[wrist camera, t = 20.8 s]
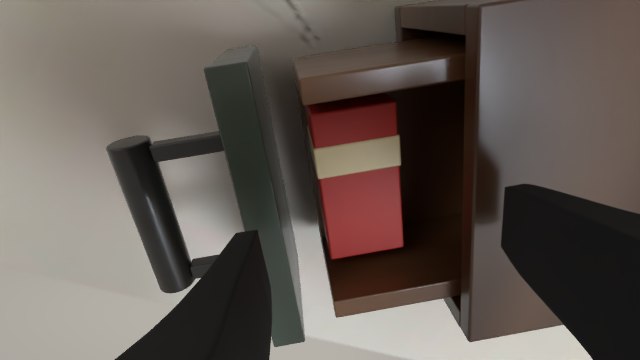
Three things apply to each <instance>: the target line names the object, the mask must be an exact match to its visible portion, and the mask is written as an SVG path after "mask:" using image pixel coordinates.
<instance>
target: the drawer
mask: <svg viewBox="0 0 640 360" xmlns="http://www.w3.org/2000/svg"><path fill="white" fill-rule="evenodd" d="M465 52H466V35H458V34H446V35H440V36H433V37H427V38H421V39H414V40H408V41H401V42H395V43H388V44H382V45H375V46H369V47H363V48H356V49H350V50H343V51H337V52H330V53H324V54H317V55H311V56H304V57H298V58H293V59H292V62H293V69H294V75H295V81H296V87H297V94H298V100H299V106H300V112H301V119H302V125H303V131H304V137H305V144H306V150H307V156H308V162H309V168H310V175H311V181H312V187H313V193H314V200H315V206H316V212H317V218H318V225H319V231H320V237H321V243H322V248H323V253H324V259H325V264H326V269H327V274H328V279H329V285H330V290H331V295H332V300H333V305H334V310H335V316H336V317H343V316H348V315H354V314H359V313H365V312H370V311H376V310H381V309H387V308H392V307H398V306H403V305H409V304H414V303H420V302H425V301H431V300H436V299H442V298H447V297H453V296H458V295H461V269H462V215H463V161H464V106H465ZM204 73H205V77H206V81H207V84H208V88H209V92H210V96H211V100H212V104H213V108H214V112H215V116H216V120H217V124H218V128H219V131H218V132H211V133H205V134H199V135H193V136H187V137H180V138H174V139H168V140H162V141H156V142H153V143H151V140H150V138H149V137H148V136H133V137H128V138H124V139H121V140H118V141H116V142H113V143H111V144H110V145H108V146H107V148H106V150H107V152H108V155H109V157H110V160H111V163H112V165H113V168H114V170H115V173H116V176H117V178H118V181H119V183H120V186H121V188H122V191H123V194H124V196H125V199H126V201H127V204H128V206H129V209H130V212H131V214H132V217H133V219H134V222H135V225H136V227H137V230H138V232H139V235H140V237H141V240H142V243H143V245H144V248H145V250H146V253H147V255H148V258H149V261H150V263H151V266H152V268H153V271H154V274H155V276H156V279H157V281H158V284H159V286H160V289H161V290H162V291H163V292H165V293H176V292H179V291H182V290H184V289H186V288H187V287H189V286H190V285H191V284H192V283H193V282H194V280H195V279H196V278H202V277H203V275H204V274H205V273H206V272H207V270H208V269H209V268H210V267H211V265H212V264H213V263H214V261H215V260H216V259H217V257H218V256H219V255H220V254H219V255H214V256H208V257H202V258H196V259H193V260H192V262H191V259H190V256H189V253H188V250H187V247H186V244H185V241H184V238H183V235H182V232H181V229H180V226H179V223H178V220H177V217H176V214H175V211H174V208H173V205H172V202H171V199H170V196H169V193H168V191H167V188H166V185H165V182H164V179H163V176H162V173H161V170H160V167H159V164H158V162H160V161H166V160H172V159H179V158H185V157H191V156H197V155H203V154H209V153H215V152H221V151H225V155H226V159H227V163H228V167H229V171H230V175H231V179H232V183H233V187H234V191H235V195H236V199H237V203H238V206H239V210H240V214H241V218H242V222H243V226H244V230H245V232H246V231H251V230H258V234H259V239H260V243H261V247H262V251H263V256H264V260H265V264H266V268H267V272H268V277H269V281H270V285H271V297H272V331H271V336H272V340H273V344H274V347H278V346H283V345H289V344H294V343H300V342H304V341H305V334H304V323H303V311H302V299H301V288H300V276H299V264H298V254H297V249H296V243H295V238H294V233H293V228H292V223H291V217H290V212H289V207H288V202H287V197H286V192H285V186H284V181H283V176H282V171H281V166H280V161H279V155H278V150H277V145H276V140H275V135H274V130H273V124H272V119H271V114H270V109H269V104H268V99H267V93H266V88H265V83H264V78H263V73H262V68H261V62H260V57H259V52H258V47H257V45H252V46H245V47H239V48H232V49H228V50H227V51H226V52H224V53H223V54H222V55H221V56H219V57H218V58H217V59H216V60H214V61H213V62H212V63H210V64H209V65H208V66H207V67H205V68H204ZM380 93H386V94H387V95H388V96H390V97H391V98H392V99H393V100H395V101H396V105H397V124H398V134H399V136H400V147H401V165H400V183H401V202H402V222H403V241H404V245H403V247H400V248H395V249H389V250H383V251H377V252H372V253H366V254H360V255H355V256H349V257H343V258H338V259H331V257H330V253H329V249H328V244H327V240H326V235H325V230H324V226H323V221H322V214H321V208H320V202H319V195H318V189H317V182H316V176H315V169H314V163H313V159H312V155H311V151H310V145H309V138H308V132H307V125H308V124H307V117H306V111H305V105H311V104H317V103H323V102H330V101H336V100H342V99H348V98H355V97H361V96H367V95H373V94H380Z"/></svg>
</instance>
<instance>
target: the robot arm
mask: <svg viewBox="0 0 640 360" xmlns="http://www.w3.org/2000/svg"><path fill="white" fill-rule="evenodd" d="M501 247H502V249H503V251H504V252H505V254H506V255H507V257H508V259H509V260H510V262H511V263H512V265H513V266H514V268H515V269H516V270H517V272H518V273H519V275H520V276H521V277H522V278H523V279H524V280H525V282H526V283H527V284H528V285H529V286H530V287H531V288H532V290H533V291H534V292H535V293H536V294H537V295H538V296H539V298H540V299H541V300H542V301H543V302H544V303H545V304H546V305H547V306H548V308H549V309H550V310H551V311H552V312H553V313H554V314H555V315H556V316H557V318H558V319H559V320H560V321H561V322H562V323H563V324H564V325H565V326H566V328H567V329H568V330H569V331H570V332H571V333H572V334H573V335H574V337H575V338H576V339H577V340H578V341H579V343H580V344H581V345H582V346H583V347H584V349H585V350H586V351H587V352H588V354H589V355H590V356H591V358H592V359H593V360H640V214H638V213H634V212H630V211H626V210H623V209H619V208H615V207H612V206H608V205H604V204H601V203H597V202H594V201H590V200H587V199H584V198H580V197H577V196H573V195H570V194H566V193H563V192H560V191H556V190H552V189H549V188H545V187H541V186H536V185H531V184H519V185H514V186H508V187H505V191H504V206H503V220H502V235H501ZM271 331H272V297H271V285H270V281H269V277H268V272H267V268H266V264H265V260H264V256H263V251H262V247H261V243H260V239H259V234H258V230H251V231H246V232H240V233H236V234H235V235H234V236H233V238H232V239H231V240H230V241H229V243H228V244H227V245H226V247H225V248H224V249H223V251H222V252H221V253H220V255H219V256H218V257H217V259H216V260H215V261H214V263H213V264H212V265H211V267H210V268H209V269H208V270H207V272H206V273H205V274H204V275H203V277H202V278H201V279H200V280H199V281H198V282H197V283H196V285H195V286H194V287H193V288H192V289H191V290H190V291H189V293H188V294H187V295H186V296H185V297H184V298H183V299H182V300H181V301H180V303H179V304H178V305H177V306H176V307H175V308H174V309H173V310H172V311H171V312H170V313H169V314H168V315H167V316H166V317H164V318H163V319H162V320H161V321H160V322H159V323H158V324H157V325H156V326H155V327H154V328H153V329H151V330H150V331H149V332H148V333H147V334H146V335H145V336H143V337H142V338H141V339H140V340H139V341H137V342H136V343H135V344H133V345H132V346H131V347H130V348H129V349H127V350H126V351H125V352H124V353H122V354H121V355H120V356H119V357H118V358H117V359H115V360H269V355H270V343H271Z"/></svg>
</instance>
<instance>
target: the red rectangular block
mask: <svg viewBox="0 0 640 360" xmlns="http://www.w3.org/2000/svg"><path fill="white" fill-rule="evenodd" d="M305 111H306V117H307V124H308V125H307V132H308V138H309V145H310V151H311V155H312V159H313V163H314V169H315V176H316V182H317V189H318V195H319V202H320V208H321V214H322V221H323V226H324V230H325V235H326V240H327V244H328V249H329V253H330V257H331V259H338V258H343V257H349V256H355V255H360V254H366V253H372V252H377V251H383V250H389V249H395V248H400V247H403V245H404V241H403V222H402V202H401V183H400V165H401V147H400V136H399V134H398V124H397V105H396V101H395V100H393V99H392V98H391V97H390V96H388V95H387V94H386V93H380V94H373V95H367V96H361V97H355V98H348V99H342V100H336V101H330V102H323V103H317V104H311V105H305Z"/></svg>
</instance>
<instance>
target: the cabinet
mask: <svg viewBox="0 0 640 360" xmlns="http://www.w3.org/2000/svg"><path fill="white" fill-rule="evenodd" d="M395 21H396V40H397V42H401V41H408V40H414V39H421V38H427V37H433V36H440V35H446V34H458V35H466V52H465V106H464V161H463V215H462V269H461V295H458V296H453V297H447V298H443V299H444V301H445V303H446V304H447V306H448V308H449V309H450V311H451V313H452V315H453V316H454V318H455V320H456V321H457V323H458V325H459V326H460V327H461V329H462V331H463V333H464V334H465V336H466V338H467V340H468V341H469V342H474V341H479V340H484V339H490V338H495V337H500V336H506V335H511V334H516V333H522V332H527V331H532V330H538V329H543V328H548V327H554V326H559V325H564V324H563V323H562V322H561V321H560V320H559V319H558V318H557V316H556V315H555V314H554V313H553V312H552V311H551V310H550V309H549V308H548V306H547V305H546V304H545V303H544V302H543V301H542V300H541V299H540V298H539V296H538V295H537V294H536V293H535V292H534V291H533V290H532V288H531V287H530V286H529V285H528V284H527V283H526V282H525V280H524V279H523V278H522V277H521V276H520V275H519V273H518V272H517V270H516V269H515V268H514V266H513V265H512V263H511V262H510V260H509V259H508V257H507V255H506V254H505V252H504V251H503V249H502V247H501V235H502V220H503V206H504V191H505V187H508V186H514V185H519V184H531V185H536V186H541V187H545V188H549V189H552V190H556V191H560V192H563V193H566V194H570V195H573V196H577V197H580V198H584V199H587V200H590V201H594V202H597V203H601V204H604V205H608V206H612V207H615V208H619V209H623V210H626V211H630V212H634V213H638V214H640V0H437V1H431V2H424V3H418V4H411V5H404V6H398V7H395Z"/></svg>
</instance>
